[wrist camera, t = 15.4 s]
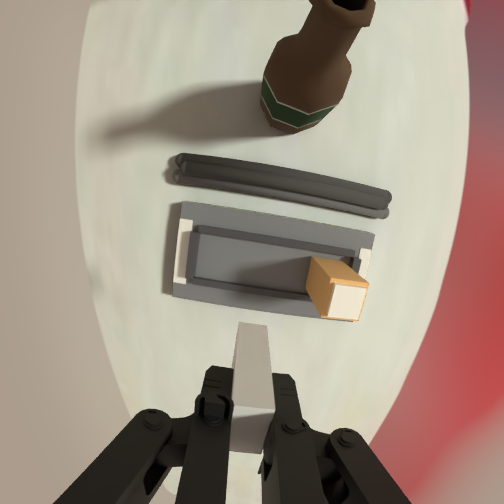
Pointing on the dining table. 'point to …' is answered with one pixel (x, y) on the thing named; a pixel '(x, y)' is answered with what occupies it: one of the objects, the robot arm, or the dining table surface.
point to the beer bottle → (313, 65)
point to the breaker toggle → (335, 289)
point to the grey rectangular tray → (258, 257)
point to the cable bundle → (281, 184)
